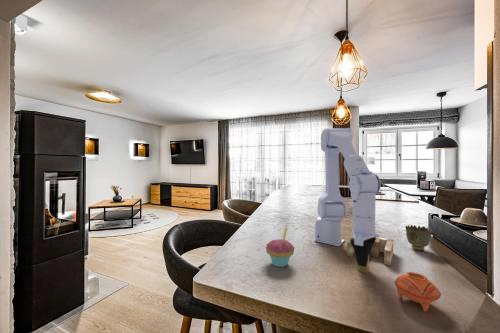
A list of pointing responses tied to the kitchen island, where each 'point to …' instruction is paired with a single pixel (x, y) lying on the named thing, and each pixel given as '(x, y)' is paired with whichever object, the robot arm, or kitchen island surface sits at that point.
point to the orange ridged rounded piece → (417, 289)
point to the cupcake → (280, 251)
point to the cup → (418, 237)
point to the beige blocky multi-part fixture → (385, 247)
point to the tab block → (374, 252)
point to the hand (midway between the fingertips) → (363, 263)
